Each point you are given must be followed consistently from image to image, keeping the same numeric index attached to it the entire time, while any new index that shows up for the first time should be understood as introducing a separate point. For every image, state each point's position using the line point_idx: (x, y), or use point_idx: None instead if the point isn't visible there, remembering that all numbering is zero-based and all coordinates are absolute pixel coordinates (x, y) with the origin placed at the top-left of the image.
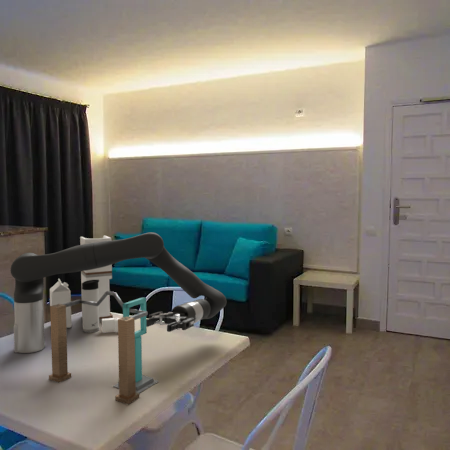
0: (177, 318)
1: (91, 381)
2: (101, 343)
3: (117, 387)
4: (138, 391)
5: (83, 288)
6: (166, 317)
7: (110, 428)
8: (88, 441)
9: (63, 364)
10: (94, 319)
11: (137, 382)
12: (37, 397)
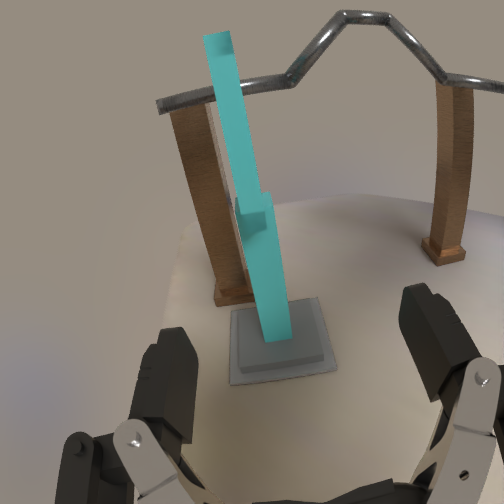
0: (162, 486)
1: (387, 283)
2: None
3: None
4: (235, 316)
5: None
6: (376, 488)
7: (196, 241)
8: None
9: (439, 224)
10: None
11: (259, 323)
12: (380, 217)
